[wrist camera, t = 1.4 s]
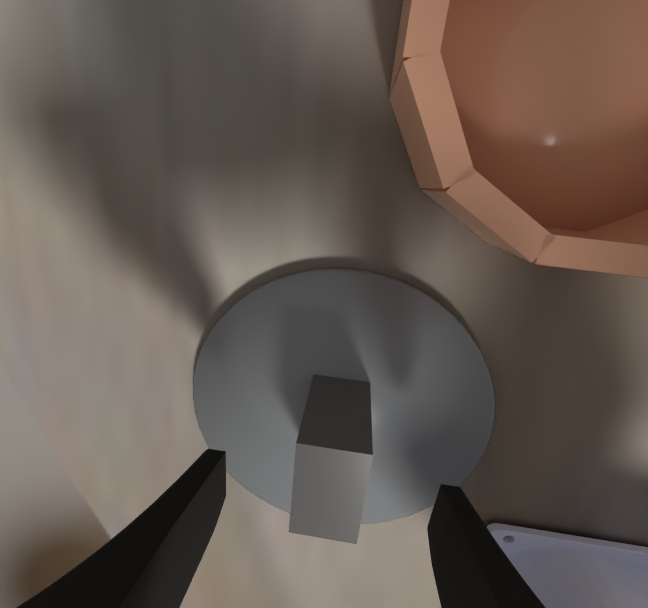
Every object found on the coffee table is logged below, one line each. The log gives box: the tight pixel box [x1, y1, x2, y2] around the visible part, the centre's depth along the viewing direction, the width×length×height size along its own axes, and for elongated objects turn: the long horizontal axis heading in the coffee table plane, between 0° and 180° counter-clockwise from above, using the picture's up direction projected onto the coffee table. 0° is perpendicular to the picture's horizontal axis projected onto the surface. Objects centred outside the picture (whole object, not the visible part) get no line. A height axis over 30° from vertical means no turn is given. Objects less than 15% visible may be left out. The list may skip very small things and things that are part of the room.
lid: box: [193, 268, 495, 544], centre depth 13 cm, size 13×13×5 cm
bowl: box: [389, 0, 648, 278], centre depth 8 cm, size 12×12×4 cm
